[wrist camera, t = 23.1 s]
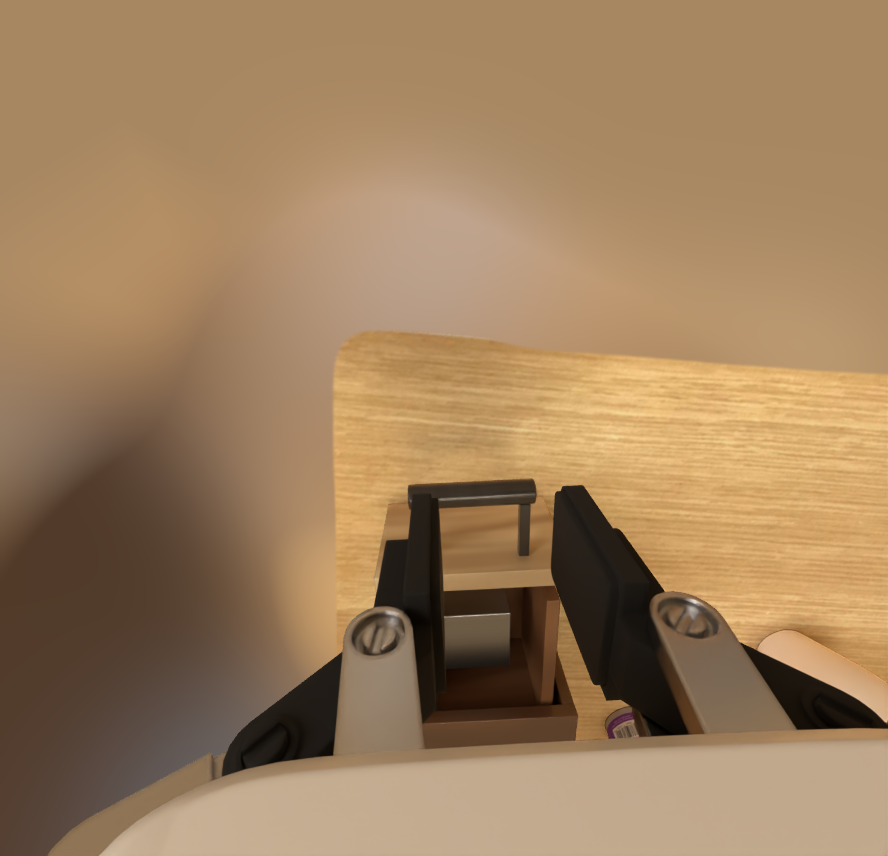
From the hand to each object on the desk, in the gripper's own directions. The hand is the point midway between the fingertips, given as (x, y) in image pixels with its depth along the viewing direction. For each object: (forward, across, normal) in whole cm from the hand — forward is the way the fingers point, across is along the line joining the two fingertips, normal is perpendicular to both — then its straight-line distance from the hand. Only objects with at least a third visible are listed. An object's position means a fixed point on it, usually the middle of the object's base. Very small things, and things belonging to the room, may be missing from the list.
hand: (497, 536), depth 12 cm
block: (+13, 0, +18) cm, 23 cm away
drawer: (+16, 0, +13) cm, 21 cm away
